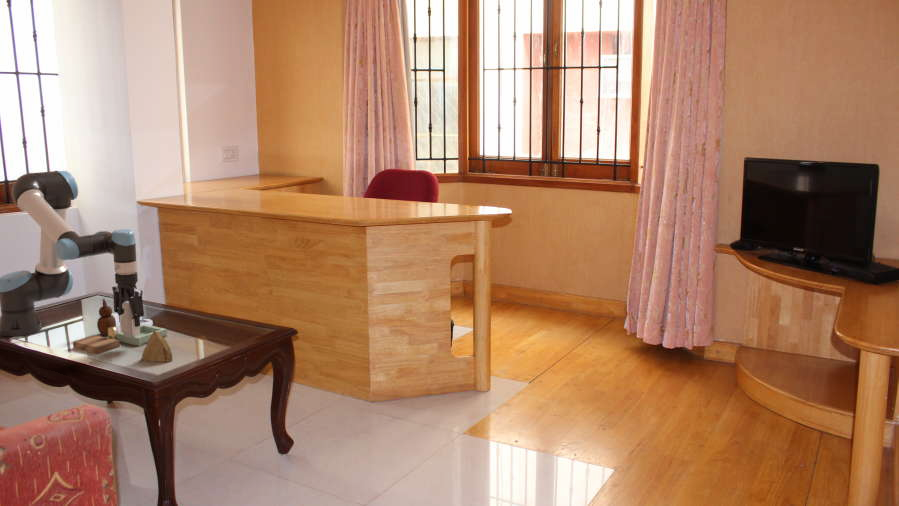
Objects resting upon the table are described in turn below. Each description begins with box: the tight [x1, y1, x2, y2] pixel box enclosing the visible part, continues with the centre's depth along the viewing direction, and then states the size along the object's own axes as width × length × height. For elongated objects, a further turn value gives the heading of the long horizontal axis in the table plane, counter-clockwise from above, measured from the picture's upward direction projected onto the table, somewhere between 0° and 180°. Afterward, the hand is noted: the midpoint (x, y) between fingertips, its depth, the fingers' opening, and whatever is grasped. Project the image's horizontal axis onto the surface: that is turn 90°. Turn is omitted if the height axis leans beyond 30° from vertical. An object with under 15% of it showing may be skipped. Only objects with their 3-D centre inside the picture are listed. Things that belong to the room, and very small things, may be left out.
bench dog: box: [107, 326, 118, 340], centre depth 288 cm, size 3×3×6 cm
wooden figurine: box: [96, 298, 117, 337], centre depth 297 cm, size 7×6×15 cm
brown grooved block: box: [72, 334, 121, 355], centre depth 283 cm, size 14×9×3 cm, turn 63°
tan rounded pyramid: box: [140, 331, 173, 363], centre depth 269 cm, size 11×9×10 cm
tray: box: [117, 323, 168, 346], centre depth 294 cm, size 13×13×3 cm
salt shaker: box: [122, 301, 136, 337], centre depth 280 cm, size 6×6×13 cm
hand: (130, 332), depth 281 cm, fingers closed on salt shaker, 6 cm apart
